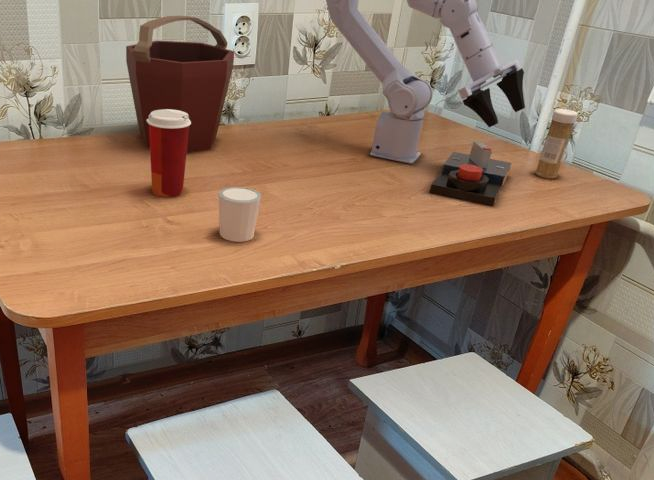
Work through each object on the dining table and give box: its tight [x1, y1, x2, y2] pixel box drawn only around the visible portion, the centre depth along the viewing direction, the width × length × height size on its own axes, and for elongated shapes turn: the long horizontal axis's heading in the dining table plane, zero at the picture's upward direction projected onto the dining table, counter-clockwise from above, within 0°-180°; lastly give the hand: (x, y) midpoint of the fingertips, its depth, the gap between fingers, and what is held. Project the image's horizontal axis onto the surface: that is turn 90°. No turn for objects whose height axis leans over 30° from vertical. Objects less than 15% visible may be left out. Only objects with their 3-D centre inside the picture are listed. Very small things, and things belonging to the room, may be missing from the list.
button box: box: [429, 170, 502, 207], centre depth 136 cm, size 12×8×4 cm, turn 63°
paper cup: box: [146, 109, 191, 198], centre depth 125 cm, size 8×8×14 cm
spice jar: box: [534, 108, 579, 180], centre depth 146 cm, size 5×5×14 cm
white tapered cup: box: [218, 186, 262, 243], centre depth 113 cm, size 7×7×7 cm
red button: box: [457, 164, 483, 181], centre depth 135 cm, size 4×4×2 cm
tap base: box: [441, 151, 512, 192], centre depth 145 cm, size 12×10×3 cm
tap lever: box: [469, 140, 493, 168], centre depth 143 cm, size 6×2×4 cm, turn 3°
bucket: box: [125, 15, 235, 153], centre depth 149 cm, size 24×22×25 cm
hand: (507, 117), depth 139 cm, fingers open, 7 cm apart
